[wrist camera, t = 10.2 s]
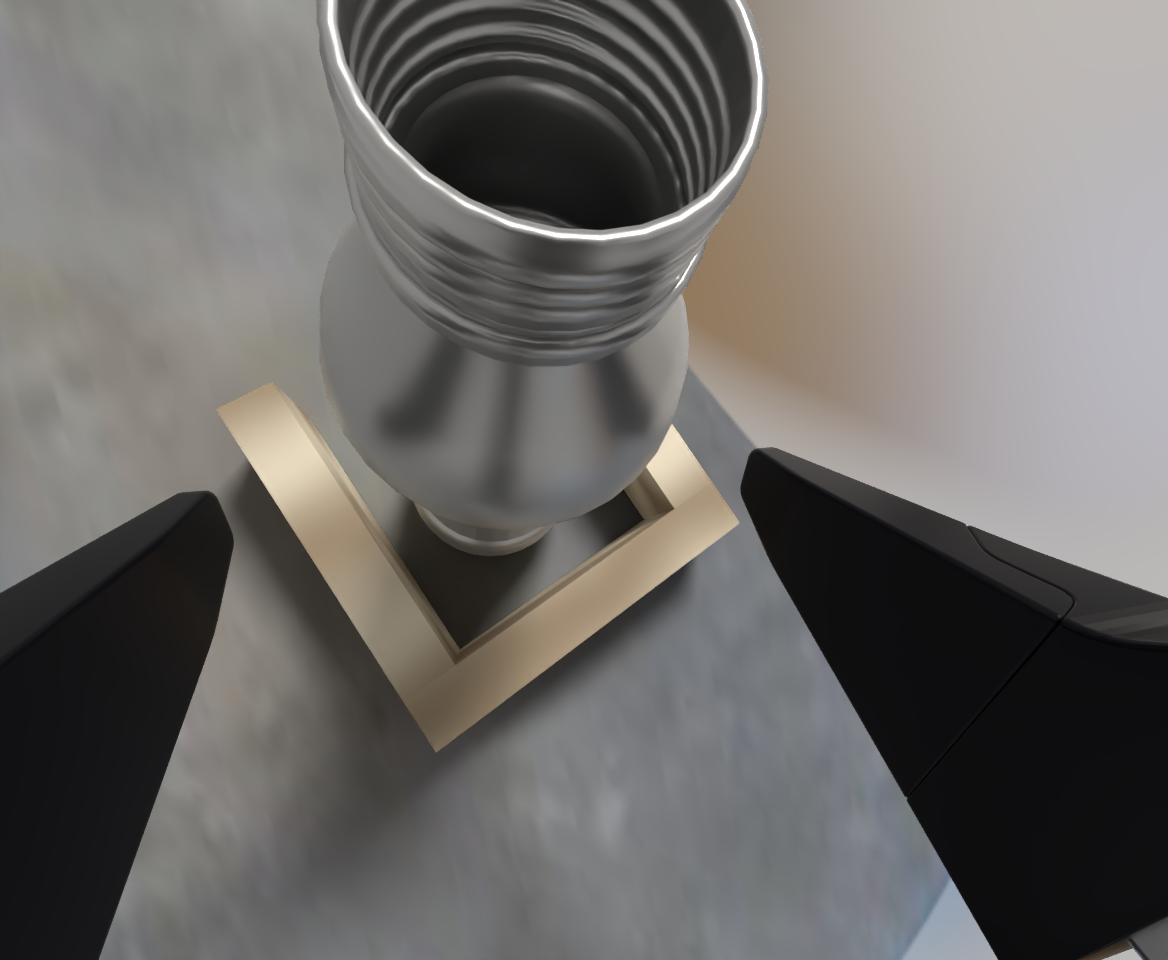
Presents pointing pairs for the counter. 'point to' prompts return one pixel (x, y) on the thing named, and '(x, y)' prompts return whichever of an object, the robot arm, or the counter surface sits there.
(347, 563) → the bracket
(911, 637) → the robot arm
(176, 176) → the counter surface
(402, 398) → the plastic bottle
